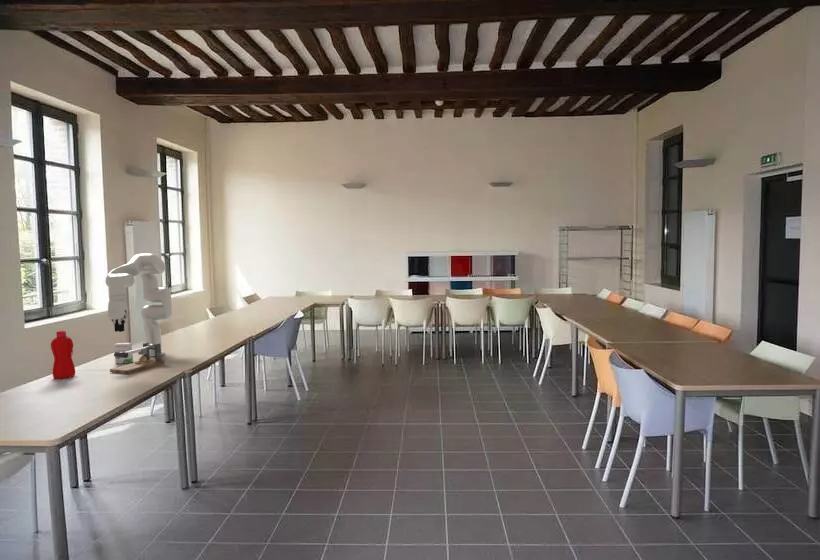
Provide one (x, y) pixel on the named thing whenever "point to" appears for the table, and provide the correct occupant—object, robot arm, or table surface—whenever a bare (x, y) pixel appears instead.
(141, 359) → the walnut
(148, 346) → the lever
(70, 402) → the table surface
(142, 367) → the brown board with cylinder
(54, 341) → the red bottle
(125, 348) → the ink box
